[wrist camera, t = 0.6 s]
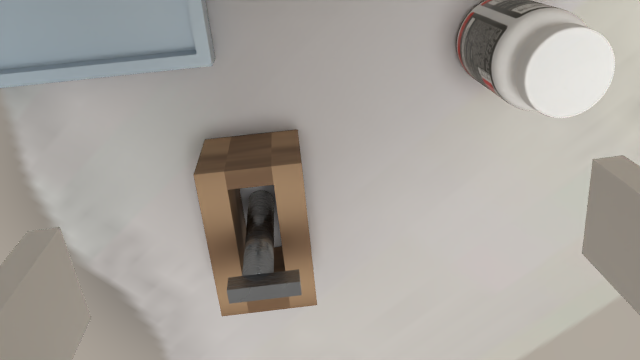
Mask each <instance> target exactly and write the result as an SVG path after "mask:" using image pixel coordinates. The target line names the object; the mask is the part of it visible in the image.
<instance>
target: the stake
mask: <svg viewBox="0 0 640 360" xmlns="http://www.w3.org/2000/svg"><path fill="white" fill-rule="evenodd" d="M227 295H228V300H229V304H231V303H240V302H248V301H257V300H265V299H274V298H282V297H291V296H299V295H302V292H301V280H300V272H299V269H298V270H289V271H280V272H274V200H273V197H272V195H271V194H270V193H268V192H267V191H263V190H259V191H256V192H254V193H253V194H252V195H251V196H250V198H249V204H248V216H247V227H246V238H245V249H244V260H243V271H242V276H237V277H229V278H228V283H227Z"/></svg>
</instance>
